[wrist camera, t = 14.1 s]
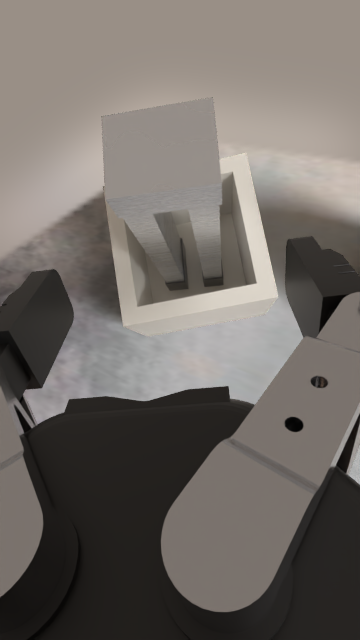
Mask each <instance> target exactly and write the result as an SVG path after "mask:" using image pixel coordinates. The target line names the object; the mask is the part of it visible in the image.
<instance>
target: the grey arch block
mask: <svg viewBox="0 0 360 640" xmlns="http://www.w3.org/2000/svg"><path fill="white" fill-rule="evenodd" d="M102 136H103V137H102V139H103V160H104V182H105V200H106V201H107V203H108V204H109V205H110V207H111V208H112V210H113V211H114V212H115V214H116V215H117V217H118V218H123V219H124V221H125V222H126V224H127V225H128V227H129V228H130V229H131V231H132V232H133V234H134V235H135V237H136V238H137V240H138V241H139V243H140V244H141V246H142V247H143V249H144V250H145V252H146V253H147V254H148V256H149V257H150V259H151V260H152V262H153V263H154V265H155V266H156V268H157V269H158V271H159V272H160V274H161V275H162V277H163V278H164V279H165V284H166V286H167V287H168V289H169V290H170V291H174V290H183V289H189V288H188V276H187V264H186V252H185V246H184V243H183V240H182V238H180V236H179V234H178V231H177V228H176V225H175V222H174V219H173V216H172V213H171V211H177V210H185V209H188V211H189V215H190V220H191V224H192V228H193V232H194V237H195V241H196V245H197V250H198V254H199V258H200V263H201V267H202V276H203V283H204V287H211V286H221V285H224V281H223V269H222V259H221V239H220V210H219V205H222V180H221V170H220V161H219V151H218V141H217V131H216V122H215V112H214V102H213V97H211V98H205V99H200V100H193V101H188V102H182V103H176V104H171V105H164V106H159V107H153V108H147V109H141V110H136V111H130V112H125V113H118V114H112V115H107V116H102Z"/></svg>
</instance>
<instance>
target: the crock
mask: <svg viewBox="0 0 360 640" xmlns="http://www.w3.org/2000/svg"><path fill="white" fill-rule="evenodd" d="M219 161H220V170H221V180H222V205H219V210H220V239H221V259H222V269H223V281H224V285H221V286H211V287H204V283H203V276H202V267H201V263H200V258H199V254H198V250H197V245H196V241H195V237H194V232H193V228H192V224H191V220H190V215H189V211H188V209H185V210H177V211H171V213H172V216H173V219H174V222H175V225H176V228H177V231H178V234H179V236H180V238H182V240H183V243H184V246H185V252H186V264H187V276H188V288H189V289H183V290H174V291H170V290H169V289H168V287H167V286H166V284H165V279H164V278H163V277H162V275H161V274H160V272H159V271H158V269H157V268H156V266H155V265H154V263H153V262H152V260H151V259H150V257H149V256H148V254H147V253H146V252H145V250H144V249H143V247H142V246H141V244H140V243H139V241H138V240H137V238H136V237H135V235H134V234H133V232H132V231H131V229H130V228H129V227H128V225H127V224H126V222H125V221H124V219H123V218H118V217H117V215H116V214H115V212H114V211H113V210H112V208H111V207H110V205H109V204H108V203H107V201H106V200H105V203H106V210H107V217H108V224H109V231H110V238H111V245H112V252H113V259H114V266H115V273H116V280H117V287H118V294H119V301H120V308H121V315H122V322H123V327H125V328H128V329H130V330H133V331H135V332H138V333H140V334H142V335H145V336H147V337H150V336H155V335H161V334H166V333H171V332H177V331H182V330H187V329H193V328H198V327H204V326H209V325H214V324H220V323H225V322H230V321H236V320H241V319H246V318H252V317H257V316H263V315H265V314H266V313H267V312H268V310H269V309H270V308H271V306H272V305H273V304H274V302H275V301H276V300H277V298H278V293H277V288H276V284H275V279H274V275H273V270H272V266H271V261H270V257H269V252H268V248H267V243H266V239H265V234H264V230H263V225H262V221H261V216H260V212H259V207H258V203H257V198H256V194H255V190H254V185H253V181H252V176H251V172H250V167H249V163H248V158H247V154H246V153H242V154H238V155H234V156H230V157H226V158H221V159H219ZM103 190H104V196H105V186H103Z"/></svg>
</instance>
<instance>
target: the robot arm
mask: <svg viewBox="0 0 360 640" xmlns="http://www.w3.org/2000/svg"><path fill="white" fill-rule="evenodd" d="M285 288H286V295H287V298H288V301H289V303H290V306H291V308H292V311H293V313H294V316H295V318H296V320H297V323H298V325H299V328H300V330H301V332H302V335H303V337H304V338H303V340H302V341H301V342H300V344H299V345H298V346H297V348H296V349H295V351H294V352H293V353H292V355H291V356H290V357H289V359H288V360H287V362H286V363H285V364H284V366H283V367H282V369H281V370H280V371H279V373H278V374H277V375H276V377H275V378H274V380H273V381H272V382H271V384H270V385H269V386H268V388H267V389H266V391H265V392H264V393H263V395H262V396H261V398H260V399H259V400H258V402H257V403H256V404H255V405H254V404H251V403H248V402H245V401H240V400H235V399H230V396H229V387H228V386H225V387H213V388H201V389H189V390H185V391H181V392H178V393H174V394H171V395H167V396H164V397H160V398H157V399H153V400H150V401H136V400H129V399H122V398H115V397H108V396H105V397H93V398H81V399H69V401H68V404H67V407H66V409H65V412H64V413H61V414H58V415H56V416H53V417H51V418H49V419H47V420H45V421H43V422H41V423H40V424H37V422H36V419H35V417H34V415H33V413H32V410H31V408H30V406H29V404H28V401H27V400H26V398H25V397H24V395H23V393H24V391H25V390H26V389H37V388H42V387H43V385H44V383H45V380H46V378H47V376H48V374H49V372H50V370H51V368H52V365H53V363H54V361H55V359H56V357H57V355H58V353H59V350H60V348H61V346H62V344H63V342H64V340H65V338H66V335H67V333H68V331H69V329H70V327H71V325H72V323H73V318H74V312H73V307H72V304H71V302H70V299H69V297H68V295H67V292H66V290H65V287H64V285H63V283H62V280H61V278H60V275H59V274H58V272H57V271H56V270H54V269H52V270H44V271H36V272H32V273H31V274H30V276H29V277H28V278H27V279H26V281H25V282H24V283H23V284H22V286H21V287H20V288H19V289H18V290H16V291H15V292H13V293H12V294H11V295H9V296H8V298H7V299H6V300H5V301H4V303H3V304H2V306H0V640H360V485H359V484H358V483H357V482H356V481H355V480H353V479H352V478H351V477H350V476H349V473H350V471H351V468H352V465H353V462H354V460H355V457H356V454H357V451H358V448H359V445H360V276H359V275H358V274H357V273H356V272H355V270H354V269H353V268H352V266H351V265H349V263H348V262H347V260H346V259H345V258H344V257H343V255H341V254H339V253H337V252H335V251H333V250H331V249H326V250H322V249H321V248H320V246H319V245H318V243H317V242H316V241H315V239H314V238H313V237H312V236H311V237H303V238H295V239H288V241H287V246H286V273H285Z"/></svg>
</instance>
